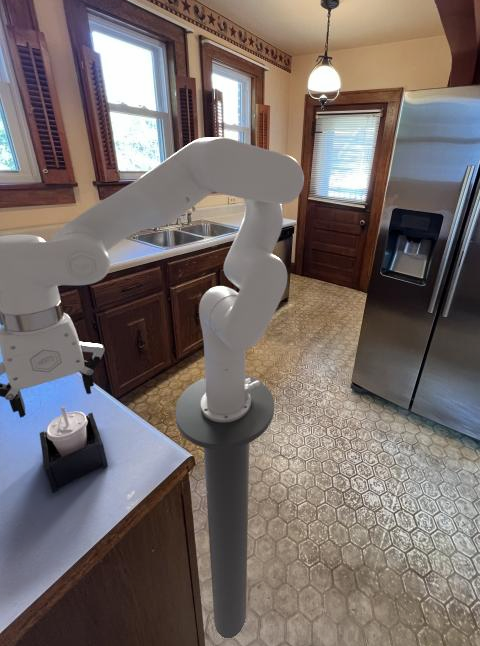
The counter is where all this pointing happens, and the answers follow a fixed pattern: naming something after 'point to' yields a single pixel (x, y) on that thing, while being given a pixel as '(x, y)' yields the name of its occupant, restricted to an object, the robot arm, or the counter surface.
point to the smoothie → (68, 432)
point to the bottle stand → (73, 458)
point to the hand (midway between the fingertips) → (56, 400)
